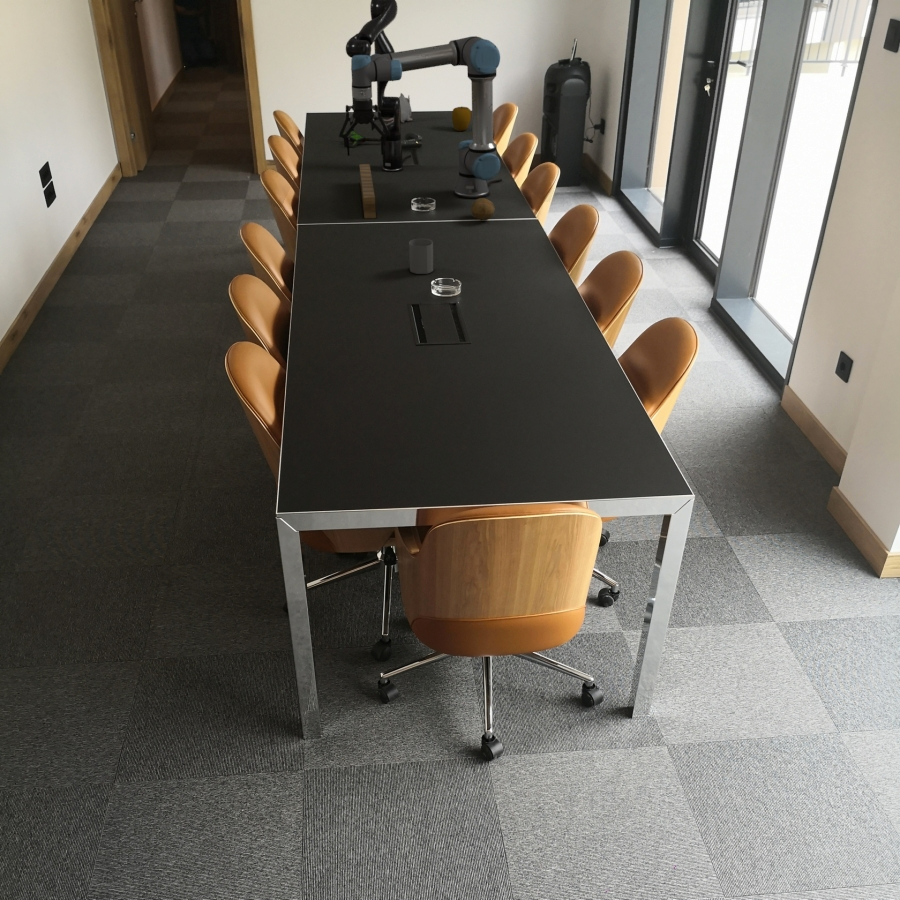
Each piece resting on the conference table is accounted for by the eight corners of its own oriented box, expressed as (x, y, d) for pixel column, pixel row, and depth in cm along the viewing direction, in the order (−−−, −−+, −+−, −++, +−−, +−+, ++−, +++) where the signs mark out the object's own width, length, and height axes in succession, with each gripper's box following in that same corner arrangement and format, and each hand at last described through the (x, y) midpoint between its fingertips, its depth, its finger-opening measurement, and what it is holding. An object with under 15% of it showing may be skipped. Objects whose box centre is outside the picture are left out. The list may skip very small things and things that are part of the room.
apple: (471, 132, 486) (471, 108, 479) (451, 132, 486) (451, 108, 479) (470, 128, 495) (471, 104, 488) (452, 128, 495) (452, 104, 488)
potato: (492, 213, 362) (492, 194, 358) (496, 224, 351) (496, 204, 346) (468, 214, 362) (469, 194, 358) (472, 224, 350) (472, 205, 346)
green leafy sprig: (396, 128, 464) (339, 126, 462) (395, 143, 457) (338, 141, 454) (395, 137, 469) (340, 135, 466) (395, 153, 462) (339, 151, 459)
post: (360, 183, 400) (359, 164, 396) (370, 183, 401) (369, 164, 396) (364, 218, 357) (363, 197, 353) (375, 218, 358) (374, 197, 353)
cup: (409, 265, 311) (408, 238, 306) (432, 265, 312) (431, 238, 307) (410, 274, 304) (409, 246, 299) (433, 273, 305) (433, 246, 299)
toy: (416, 120, 512) (415, 93, 504) (387, 127, 497) (386, 99, 489) (405, 118, 517) (404, 91, 509) (376, 124, 502) (375, 97, 494)
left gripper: (344, 92, 367) (346, 132, 376) (377, 92, 369) (379, 131, 378) (343, 89, 374) (346, 128, 382) (377, 88, 375) (378, 128, 384)
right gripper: (330, 101, 334) (334, 157, 346) (395, 99, 337) (396, 155, 348) (330, 97, 340) (334, 152, 352) (394, 96, 343) (395, 151, 354)
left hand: (362, 130), depth 380 cm, fingers open, 8 cm apart
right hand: (365, 154), depth 350 cm, fingers open, 13 cm apart
